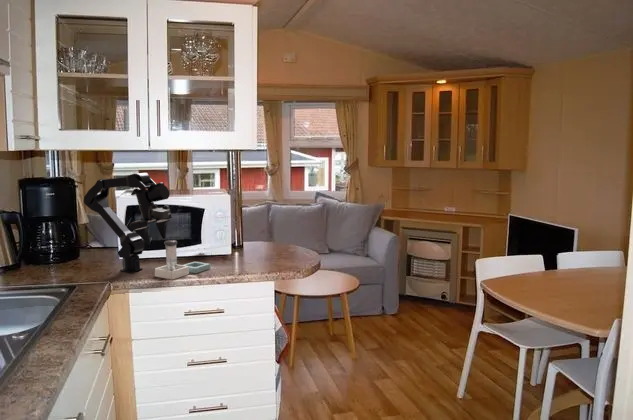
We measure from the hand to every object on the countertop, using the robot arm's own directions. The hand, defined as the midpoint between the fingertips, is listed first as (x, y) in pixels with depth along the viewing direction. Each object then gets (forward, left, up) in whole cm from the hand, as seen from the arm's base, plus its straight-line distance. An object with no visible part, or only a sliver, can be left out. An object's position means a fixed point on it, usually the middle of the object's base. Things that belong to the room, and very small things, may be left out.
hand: (156, 241), depth 207 cm
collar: (+10, +11, -13) cm, 20 cm away
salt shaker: (+8, 0, -12) cm, 15 cm away
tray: (+8, 0, -13) cm, 15 cm away
